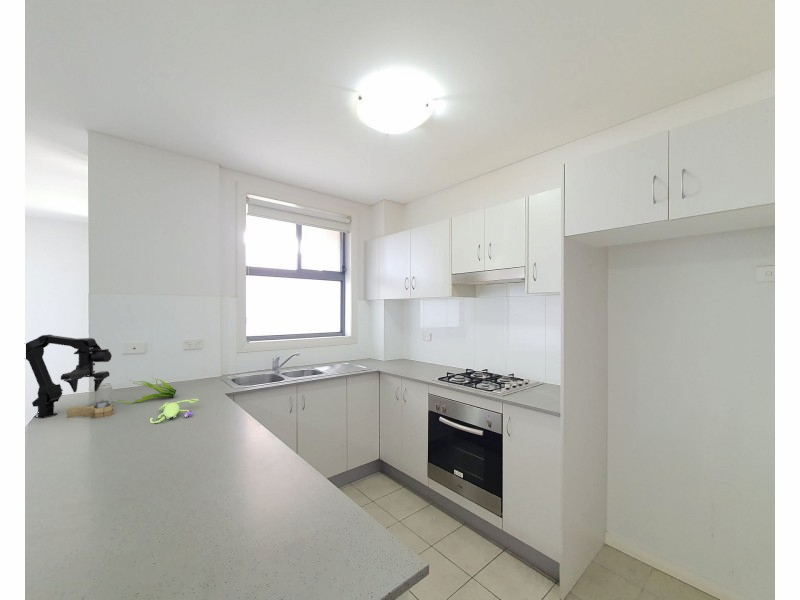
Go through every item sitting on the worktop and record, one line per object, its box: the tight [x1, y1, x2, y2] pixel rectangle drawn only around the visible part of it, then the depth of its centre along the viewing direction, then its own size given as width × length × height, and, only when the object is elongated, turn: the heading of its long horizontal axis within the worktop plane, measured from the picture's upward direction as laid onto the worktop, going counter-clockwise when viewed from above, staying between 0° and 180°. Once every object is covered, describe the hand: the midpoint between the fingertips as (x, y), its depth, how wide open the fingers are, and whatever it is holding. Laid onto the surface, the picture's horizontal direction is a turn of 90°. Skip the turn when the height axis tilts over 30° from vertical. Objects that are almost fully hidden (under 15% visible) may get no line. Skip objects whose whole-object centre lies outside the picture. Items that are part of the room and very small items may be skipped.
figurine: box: [149, 398, 199, 424], centre depth 173 cm, size 18×27×6 cm
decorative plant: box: [111, 377, 177, 404], centre depth 195 cm, size 18×30×15 cm, turn 99°
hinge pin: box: [96, 401, 109, 408], centre depth 170 cm, size 5×5×7 cm
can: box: [93, 382, 113, 406], centre depth 187 cm, size 8×8×12 cm
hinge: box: [66, 399, 115, 419], centre depth 171 cm, size 18×16×5 cm
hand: (85, 391), depth 171 cm, fingers open, 9 cm apart
